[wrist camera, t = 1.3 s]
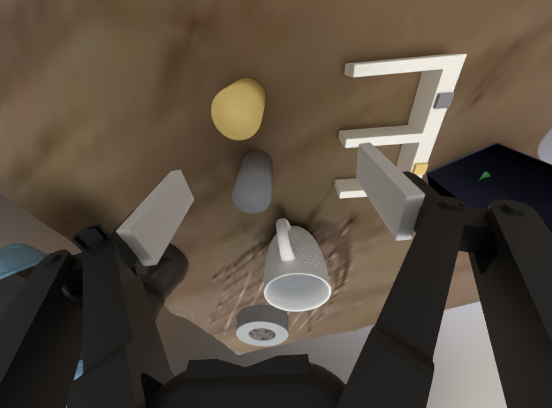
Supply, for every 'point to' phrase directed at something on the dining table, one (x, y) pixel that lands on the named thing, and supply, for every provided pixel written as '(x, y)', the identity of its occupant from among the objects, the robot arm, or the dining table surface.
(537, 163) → the vase
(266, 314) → the grey wheel
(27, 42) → the dining table surface
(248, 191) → the charcoal plug
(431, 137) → the comb rack
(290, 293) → the mug
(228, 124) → the ochre plug
